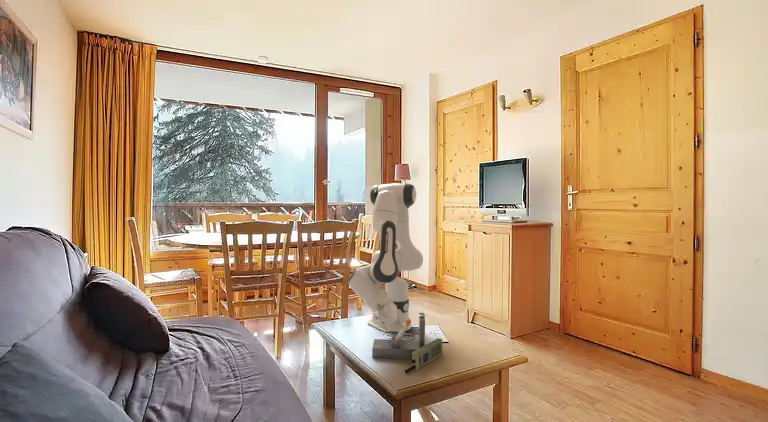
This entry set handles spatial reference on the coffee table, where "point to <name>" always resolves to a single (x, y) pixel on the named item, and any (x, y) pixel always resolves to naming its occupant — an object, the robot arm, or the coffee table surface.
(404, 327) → the lever
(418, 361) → the handheld radio
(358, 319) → the coffee table surface
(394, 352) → the breaker box
